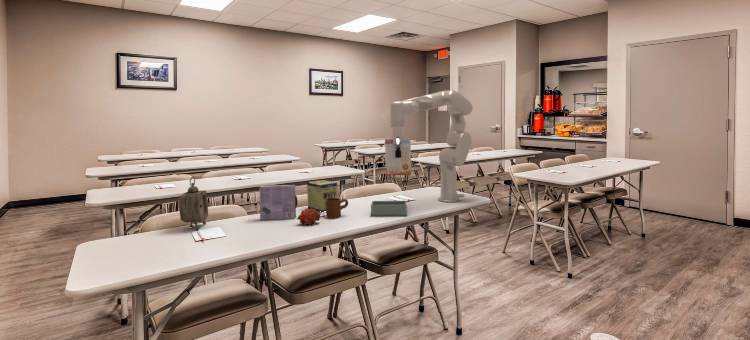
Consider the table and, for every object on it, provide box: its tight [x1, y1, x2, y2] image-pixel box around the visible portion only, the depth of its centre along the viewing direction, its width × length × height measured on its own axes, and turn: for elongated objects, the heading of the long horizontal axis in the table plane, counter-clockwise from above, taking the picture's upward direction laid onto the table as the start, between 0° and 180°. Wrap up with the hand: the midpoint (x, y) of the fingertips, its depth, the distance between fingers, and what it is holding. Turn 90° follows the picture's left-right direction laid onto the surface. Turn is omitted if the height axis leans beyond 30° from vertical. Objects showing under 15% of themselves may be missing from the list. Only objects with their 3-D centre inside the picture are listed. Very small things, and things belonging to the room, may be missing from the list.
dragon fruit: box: [296, 208, 321, 226], centre depth 214 cm, size 8×8×12 cm
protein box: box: [306, 179, 338, 213], centre depth 245 cm, size 10×16×16 cm
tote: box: [370, 200, 408, 217], centre depth 231 cm, size 19×11×6 cm, turn 86°
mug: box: [325, 197, 349, 219], centre depth 228 cm, size 12×8×9 cm, turn 110°
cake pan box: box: [259, 184, 298, 221], centre depth 225 cm, size 19×5×18 cm, turn 100°
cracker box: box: [384, 136, 412, 176], centre depth 240 cm, size 14×6×21 cm, turn 84°
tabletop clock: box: [178, 176, 209, 230], centre depth 210 cm, size 14×9×25 cm, turn 5°
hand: (398, 156), depth 240 cm, fingers closed on cracker box, 6 cm apart
